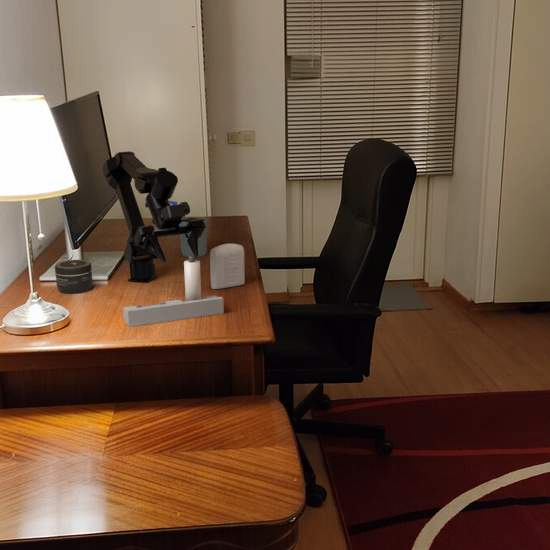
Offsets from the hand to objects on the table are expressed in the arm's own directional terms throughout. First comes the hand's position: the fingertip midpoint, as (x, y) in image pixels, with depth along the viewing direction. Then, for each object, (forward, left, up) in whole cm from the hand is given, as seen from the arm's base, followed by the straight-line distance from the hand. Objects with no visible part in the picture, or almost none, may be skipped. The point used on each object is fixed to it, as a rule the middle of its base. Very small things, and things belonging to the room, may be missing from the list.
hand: (181, 259), depth 178 cm
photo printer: (+6, +19, -13) cm, 23 cm away
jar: (-35, +5, -13) cm, 38 cm away
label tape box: (-41, +81, -13) cm, 91 cm away
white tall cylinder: (+5, -4, -12) cm, 14 cm away
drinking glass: (-18, +52, -13) cm, 56 cm away
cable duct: (+1, -9, -12) cm, 16 cm away
